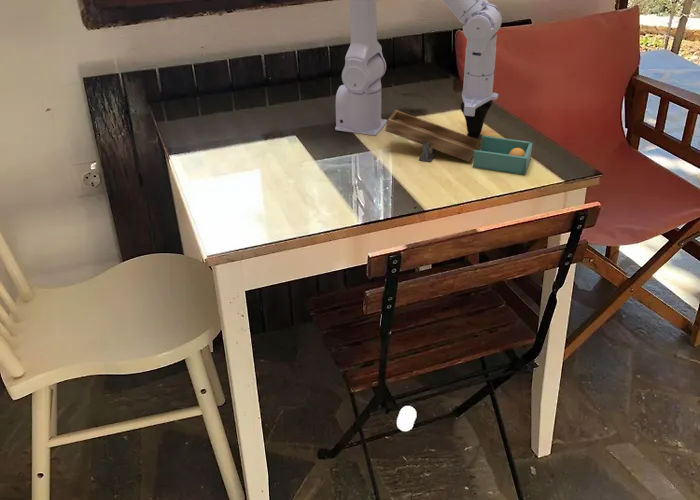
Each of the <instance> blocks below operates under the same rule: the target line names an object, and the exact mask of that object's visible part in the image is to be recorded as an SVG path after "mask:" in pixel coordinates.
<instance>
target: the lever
mask: <svg viewBox="0 0 700 500" xmlns="http://www.w3.org/2000/svg"><path fill="white" fill-rule="evenodd" d="M384 131H385V132H386V133H387V132H388V133H390V134H392V135H395V136H398V137H401V138H404V139H406V140H408V141H412V142H415V143H416V144H420V145H422V146H423V143H428V144H429V147H430V148H433V149H436V150H438V151H437V152H441V153H444V154H447V155H449V156H451V157H455V158H457V159H460V160H463V161H466V162H468V163H470V162H471V161H472V159H473V158H474V150H478V148H479V145H481V138H482V135H483V134H482V133H480V136H479V137H478V138H475V137H470V136H468V133H467V134H464V133H461V132H459V131H455V130H453V129H449V128H447V127H445V126H442V125H439V124H436V123H434V122H431V121H427V120H425V119H422V118H420V117H416V116H414V115H412V114H408V113H406V112H403V111H400V110H398V109H395V110H394V111H393V112H392V114H391V115H390V116H389V118H388V119H387V123H386V124H385V130H384Z"/></svg>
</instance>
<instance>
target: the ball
mask: <svg viewBox="0 0 700 500" xmlns="http://www.w3.org/2000/svg"><path fill="white" fill-rule="evenodd" d="M509 155H515V156H522V157H524V156H525V152H524V150H523V149H521V148H514V149H512V150H511V151H510V153H509Z"/></svg>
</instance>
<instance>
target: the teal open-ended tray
mask: <svg viewBox="0 0 700 500" xmlns="http://www.w3.org/2000/svg"><path fill="white" fill-rule="evenodd" d="M533 144H534V143H533V141H527V140H519V139H511V138H505V137H504V138H503V137H497V136H489V135H484V134H482V138H481V142H480V150H478V149H476V150H474V155H473V157H472V159H473V161H472V168H473V169H481V170H488V171H495V172H502V173H508V174H513V175H522V176H525V175H526V172H527V170H528V167H529V164H530V161H531V159H532V151H533ZM514 148H521V149H523V150H524V152H525V156H524V157H522V156H515V155H509V153H510V151H511V150H512V149H514Z"/></svg>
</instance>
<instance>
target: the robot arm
mask: <svg viewBox="0 0 700 500" xmlns="http://www.w3.org/2000/svg"><path fill="white" fill-rule="evenodd" d="M348 2H349V31H350V32H349V33H350V34H349V35H350V45H349V47H348V49H347V51H346V55H345V57H344V60H345V62H344V63H345V64H344V66H343V69H342V72H341V81H342V83H343V84H341V85H339V87H338V89H337V91H336V94H335V124H336V125H335V128H334V130H335V131H338V132H339V131H340V132H346V133H353V134H361V135H368V136H374V137H375V136H378V134H379V132H380V131H381V130H382V129H383V128H384V126H386V125H387V121H388V119H385V118H382V82H381V79H382V77H384V75H385V73H386V70H387V63H386V60H385V58H384V55H383V51H382V50H383V47H382V45H381V44H380V43H379V41H378V33H377V32H378V31H377V30H378V29H377V28H378V27H377V26H378V25H377V23H378V22H377V19H378V18H377V0H348ZM441 2H443V4H444V5H445V6H446V7H447V8H448V9H449V11H450V12H451V13H452V14H453V15H454V17H455V18H456V19H457V20H458V21H459V23H461V24H462V25H463V26H462V32H463V35H464V38H466V47H465V56H464V71H463V74H464V75H463V85H462V86H463V88H462V91H461V99H462V102H461V104H460V110H461V112H462V115H463V116H464V120H465V124H466V128H467V129H466V130H467V134H468V136H470V137H475V138H478V137H479V136H480V134H482V130H483V127H484V123H485V119H486V117H487V114H488V111H489V110H490V108H491V106H492V105H493V101H496V100H497V99H498V97H499V93H497V92H493V88H494V80H495V79H494V78H495V77H494V76H495V66H496V57H497V55H496V54H497V41H498V40H497V37H498V34H497V32H498V31H499V29H500V28H501V26H502V22H503V18H502V13H501V12H500V10H499V8H498V6H497V5H495V4H493V3H490V2H489V1H488V0H441Z"/></svg>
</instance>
